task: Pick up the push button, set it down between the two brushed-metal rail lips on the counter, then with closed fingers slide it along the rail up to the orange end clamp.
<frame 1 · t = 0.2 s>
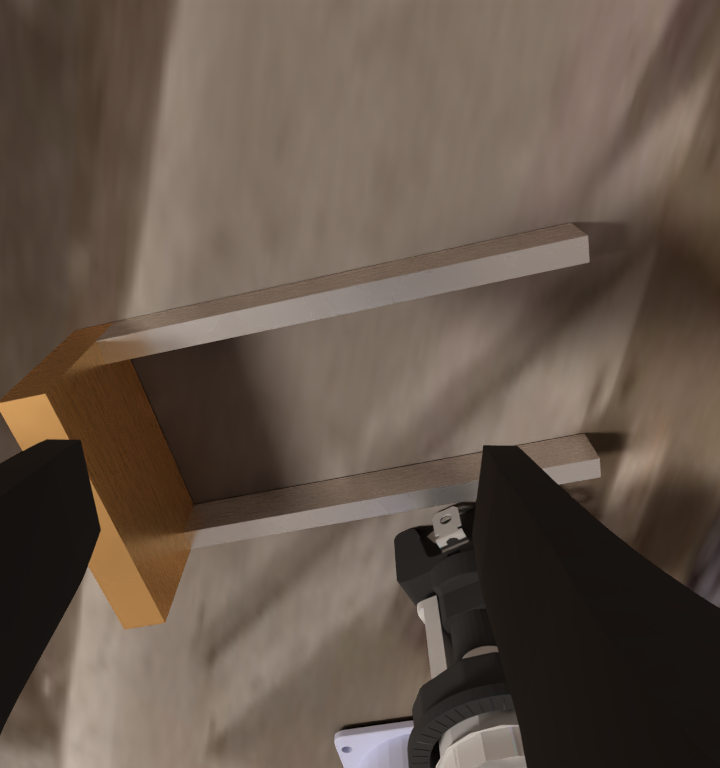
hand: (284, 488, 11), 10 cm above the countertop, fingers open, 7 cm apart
rail: (362, 390, 22), on the countertop
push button: (473, 523, 25), on the countertop
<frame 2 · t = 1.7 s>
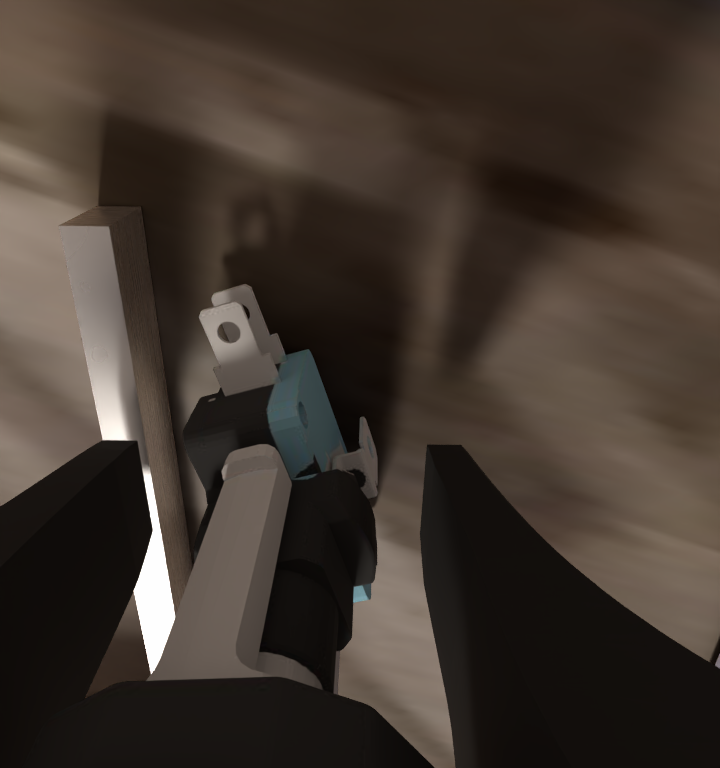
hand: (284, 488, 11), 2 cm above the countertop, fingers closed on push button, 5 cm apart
rail: (6, 525, 15), on the countertop
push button: (297, 416, 13), on the countertop, touching gripper
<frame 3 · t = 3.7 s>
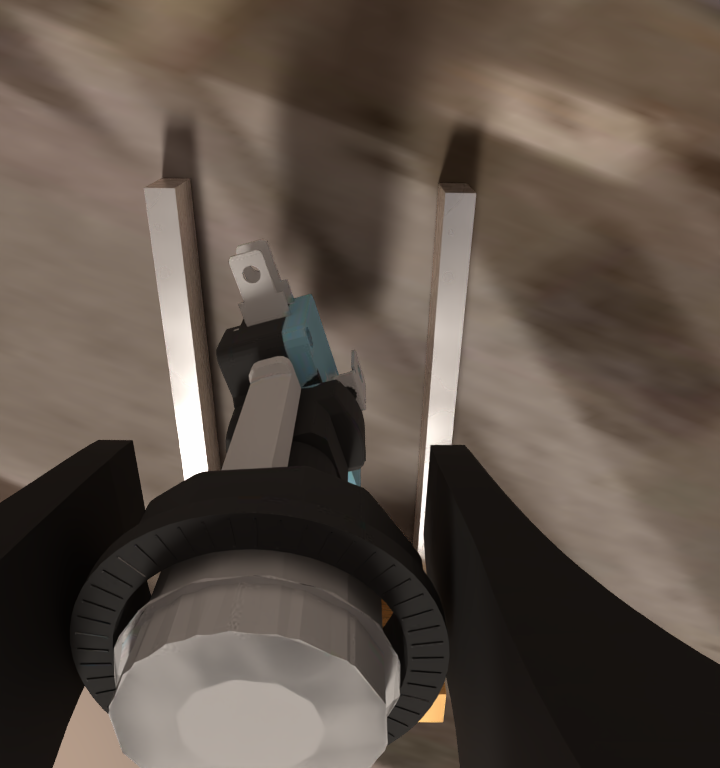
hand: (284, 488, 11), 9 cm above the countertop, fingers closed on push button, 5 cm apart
rail: (318, 412, 21), on the countertop
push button: (300, 352, 17), point 3 cm above the countertop, touching gripper
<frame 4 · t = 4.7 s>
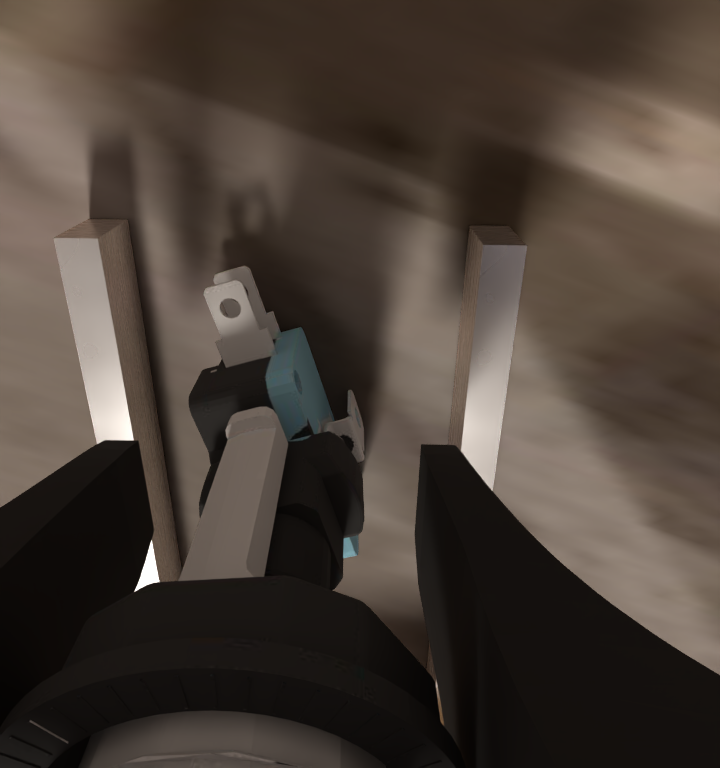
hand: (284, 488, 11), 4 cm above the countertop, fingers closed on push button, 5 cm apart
rail: (307, 513, 16), on the countertop
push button: (290, 391, 15), on the countertop, touching gripper
when the fingers open (4 cm above the countertop, at t = 5.1 s): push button stays where it is, on the countertop.
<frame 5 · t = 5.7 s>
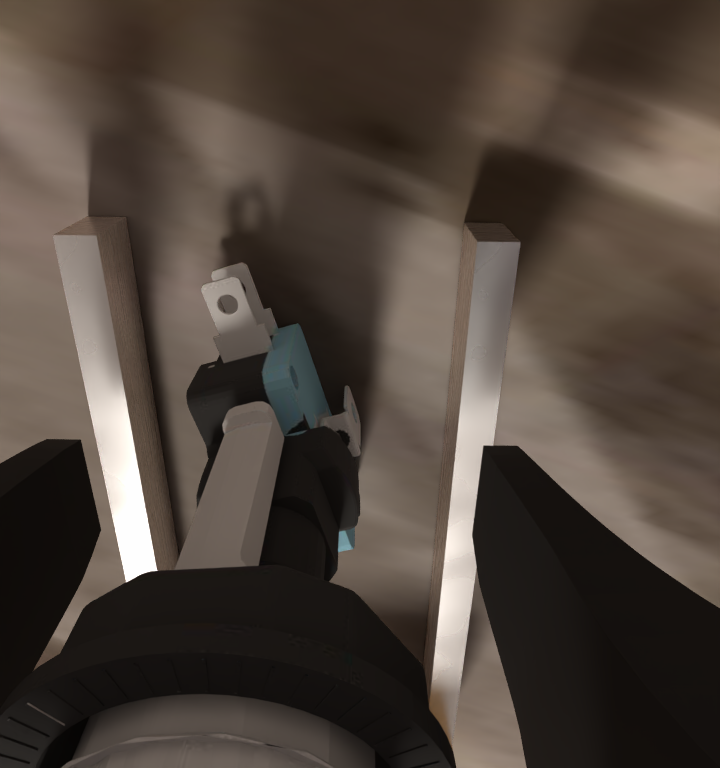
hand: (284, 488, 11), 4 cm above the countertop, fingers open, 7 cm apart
rail: (304, 508, 16), on the countertop
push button: (287, 387, 15), on the countertop
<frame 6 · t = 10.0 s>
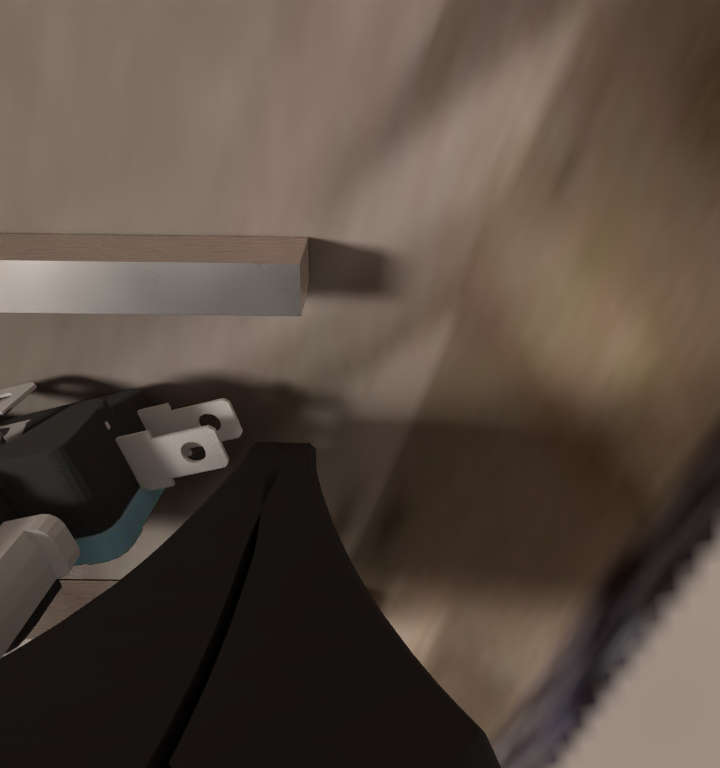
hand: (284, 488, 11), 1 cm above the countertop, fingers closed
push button: (91, 436, 12), on the countertop, touching gripper
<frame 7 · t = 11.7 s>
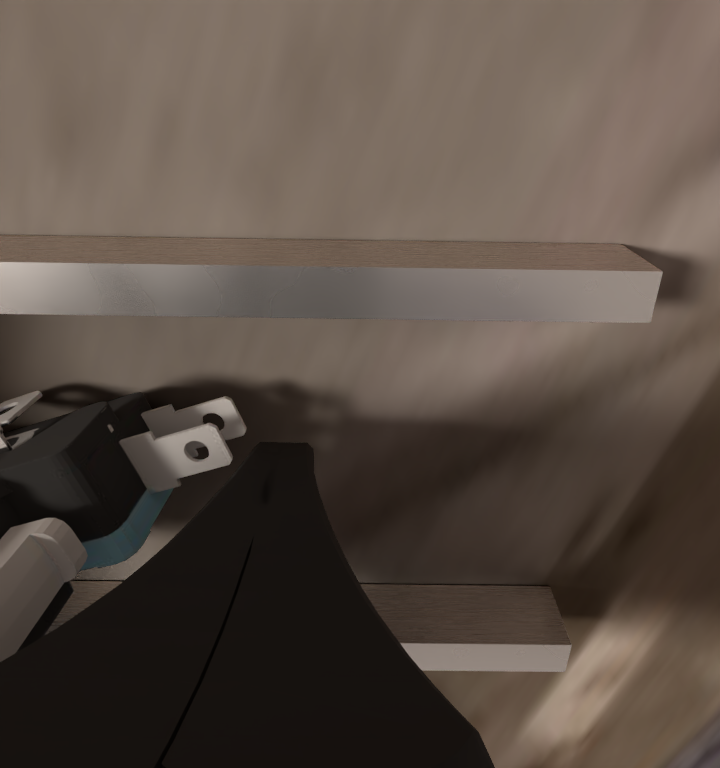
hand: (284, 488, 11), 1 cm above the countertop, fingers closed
rail: (203, 452, 12), on the countertop
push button: (100, 442, 12), on the countertop, touching gripper
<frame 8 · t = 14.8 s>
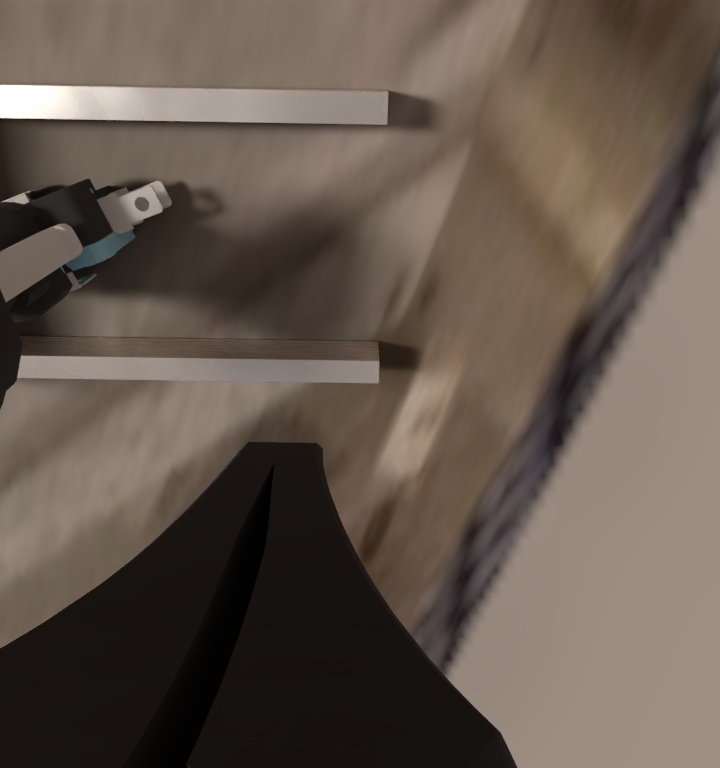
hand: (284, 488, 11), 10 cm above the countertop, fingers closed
rail: (145, 236, 19), on the countertop
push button: (81, 226, 20), on the countertop
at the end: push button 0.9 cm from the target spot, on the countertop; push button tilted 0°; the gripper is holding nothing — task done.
